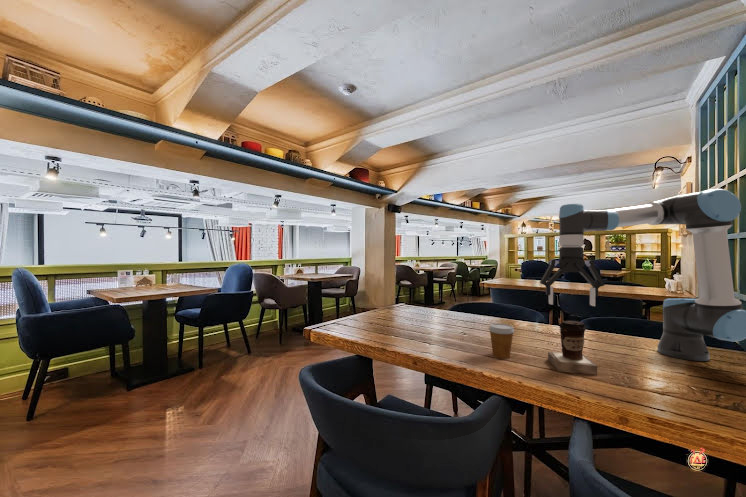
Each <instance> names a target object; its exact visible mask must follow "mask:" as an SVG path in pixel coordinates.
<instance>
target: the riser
mask: <svg viewBox="0 0 746 497" xmlns="http://www.w3.org/2000/svg"><path fill="white" fill-rule="evenodd" d="M582 356H583V359H582V360H573V359H567V358H564V357H563V355H562V352H551V351H547V360H548V362H549V363H551V365H552V366H553V367H554V368H555V370H556V371H557V372H563V373H573V374H575V373H576V374H586V375H595V376H596V375H598V365H597V364H596V363H594V362H593V361H592V360H591V359H590V358H588V357H587V356H586V355H584V354H583V355H582Z"/></svg>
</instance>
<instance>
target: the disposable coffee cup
mask: <svg viewBox="0 0 746 497" xmlns="http://www.w3.org/2000/svg"><path fill="white" fill-rule="evenodd" d="M488 330H489V334H490V341H491V342H490V343H491V349H492V350H491V351H492V356H494V358H496V359H497V358H498V359H504V360H505V359H509V358H510V357H511V351H512V343H513V336H514V334H515V329H514V326H512V325H510V324H505V323H491V324H489V327H488Z"/></svg>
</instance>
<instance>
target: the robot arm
mask: <svg viewBox="0 0 746 497" xmlns="http://www.w3.org/2000/svg"><path fill="white" fill-rule="evenodd" d="M559 207H560V208H559V214H558V219H559V222H558V223H559V225H558V228H559V243H558V244H559V246H560V247H559V249H558V251H559V253H558V254H559V259H558V260H555V259H550V260H549V263H548V267H547V269H546V270H545V273H544V274H543V276H542V277H541V280H540V281H539V283H540V284H541V285H543V286H545V295H546V296H548V304H549V305H554V286H552V285H553V284H554V283H555V281H556V280H558V279H559V277H561V275H563V274H564V273H579V274H580V275H581V276H582V277H583V278H584V279H585V280H586V281H587V282H588V283H589V285H591V286H590V287H589V306H592V307H596V297H599V288H601V287H604V286H605V285H606V284H605V283H604V280H603V279H602V277H601V275H600V273H599V272H598V270H597V268H596V267H595V266H596V265H595V260H593V259H588V260H585V259H584V258H585V257H584V256H585V255H584V254H585V251H584V247H583V246H585V245H584V243H585V240H584V238H585V237H584V234H585V232H587V233H588V232H597V231H601V232H607V231H614V230H615V229H617V228H621V227H629V226H630V227H631V226H638V225H646V224H647V225H651V226H659V225H685V229H686V231H688V232H690V233H691V234H692V242H693V249H694V250H693V251H694V258H695V266H696V275H697V277H696V278H697V284H698V293H699V297H698V298H665V299H664V300H663V302H662V303H663V304H662V335H661V337H660V339H659V342H658V344H657V352H658V353H659V354H662V355H664V356H667V357H670V358H676V359H679V360H680V359H681V360H687V361H693V362H694V361H695V362H708V361H710V359H711V358H710V352H709V349H708V347H707V345H706V343H705V340H704V336H706V337H709V338H710V337H711V338H715V339H717V340H720V341H726V342H727V341H728V342H733V343H734V342H740V341H744V340H746V310H745V309H743V302H742V301H740V300H739V299H737V298H736V297H735V290H734V281H733V274H732V265H731V264H732V263H731V257H730V256H731V255H730V248H729V239H728V232H727V231H728V230H729V229H730V228H732V226H733V221H734V220H735V219H737V218H738V217H739V215H740V214H741V211H742V204H741V202H740V199H739V197H738V196H737V195H736V194H734V193H732V192H731V191H730V190H727V189H724V188H715V189H705V190H700V191H697V192H690V193H685V194H679V195H678V194H677V195H675V196H672V197H667V198H664V199H659V200H656V201H649V202H647V203H646V204H643V205H642V204H641V205H635V206H628V207H621V208H612V209H593V210H592V209H585V208H584V207H585V206H584V204H582V203H567V204H563V205H561V206H559ZM557 265H558V266H559V268H558V269H557V270H556V271H555V273H554V274H553V275H552V276H551V274H552V272H553V271H554V268H555V267H556V266H557ZM584 266H586V267H588V270H589V271H590V273H591V275H592V277H593V278H592V277H591V275H590V274H589V273H588V272H587V270H585V269H584V268H583V267H584ZM550 276H551V277H550Z"/></svg>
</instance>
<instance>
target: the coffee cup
mask: <svg viewBox="0 0 746 497" xmlns="http://www.w3.org/2000/svg"><path fill="white" fill-rule="evenodd" d="M586 329H587V326H586V325H585V323H584V322H582V321H578V320H577V321H576V320H563V321H561V323H560V324H559V332H560V343H561V353H562V355H563V357H564V358H567V359H573V360H582V359H583V356H582V355H584V354H583V351H584V344H585V332H586Z"/></svg>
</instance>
